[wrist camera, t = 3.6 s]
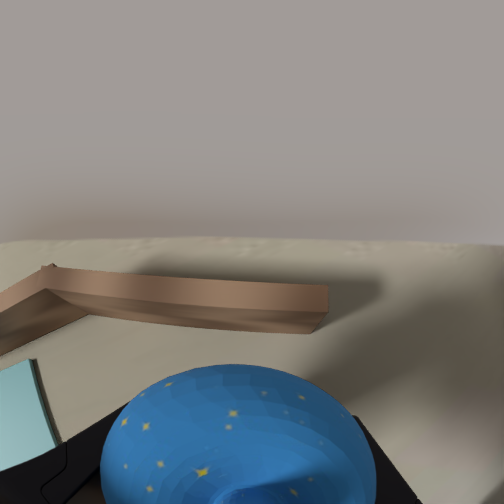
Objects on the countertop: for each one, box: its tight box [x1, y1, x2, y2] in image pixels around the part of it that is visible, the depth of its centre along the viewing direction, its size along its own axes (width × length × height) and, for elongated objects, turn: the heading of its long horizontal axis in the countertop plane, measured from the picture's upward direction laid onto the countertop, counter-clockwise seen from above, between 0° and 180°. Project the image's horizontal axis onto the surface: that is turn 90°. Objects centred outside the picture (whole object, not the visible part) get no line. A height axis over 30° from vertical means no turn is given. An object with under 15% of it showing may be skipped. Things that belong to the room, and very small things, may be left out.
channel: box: [0, 263, 328, 356], centre depth 13 cm, size 25×26×5 cm
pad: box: [0, 359, 58, 471], centre depth 14 cm, size 8×8×1 cm
